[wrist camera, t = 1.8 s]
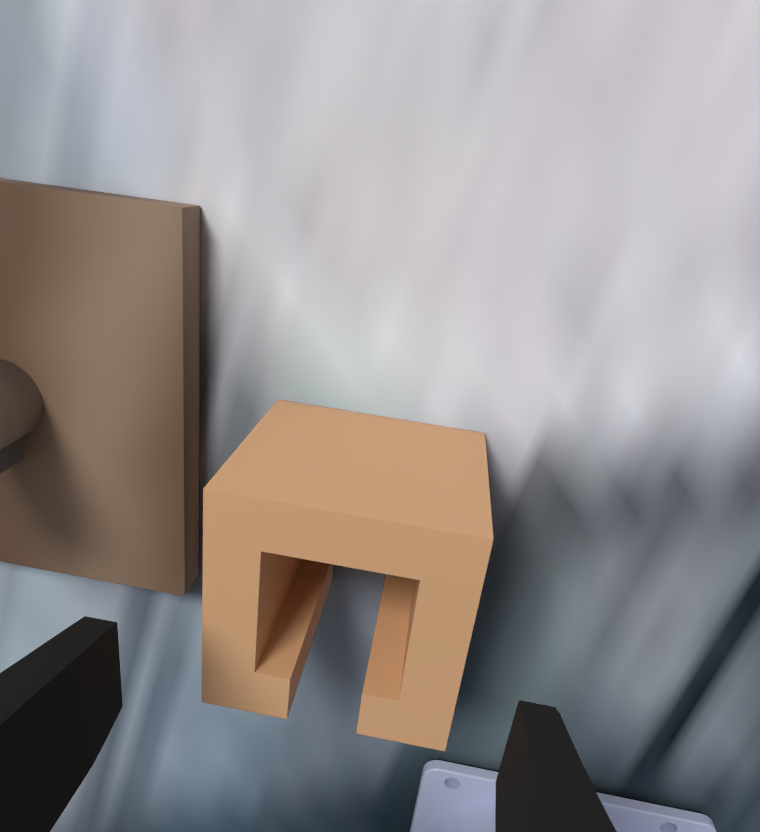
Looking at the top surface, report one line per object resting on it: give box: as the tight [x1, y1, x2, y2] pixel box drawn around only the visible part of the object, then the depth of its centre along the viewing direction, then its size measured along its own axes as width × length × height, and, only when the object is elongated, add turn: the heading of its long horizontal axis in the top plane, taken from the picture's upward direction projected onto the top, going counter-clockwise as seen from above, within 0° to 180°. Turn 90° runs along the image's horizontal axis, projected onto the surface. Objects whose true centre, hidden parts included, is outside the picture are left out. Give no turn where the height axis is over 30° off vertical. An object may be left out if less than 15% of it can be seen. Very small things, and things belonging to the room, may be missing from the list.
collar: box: [202, 400, 494, 751], centre depth 15 cm, size 6×6×5 cm
